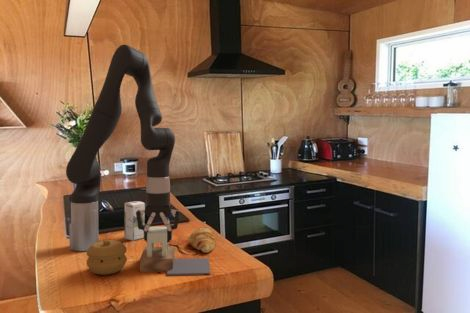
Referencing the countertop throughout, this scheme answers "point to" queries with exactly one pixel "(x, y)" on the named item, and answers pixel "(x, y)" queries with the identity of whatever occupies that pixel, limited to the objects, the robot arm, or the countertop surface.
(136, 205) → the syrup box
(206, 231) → the croissant
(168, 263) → the tan square slab
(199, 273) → the felt pad
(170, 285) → the countertop surface
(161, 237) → the notched cream block
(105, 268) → the pot
